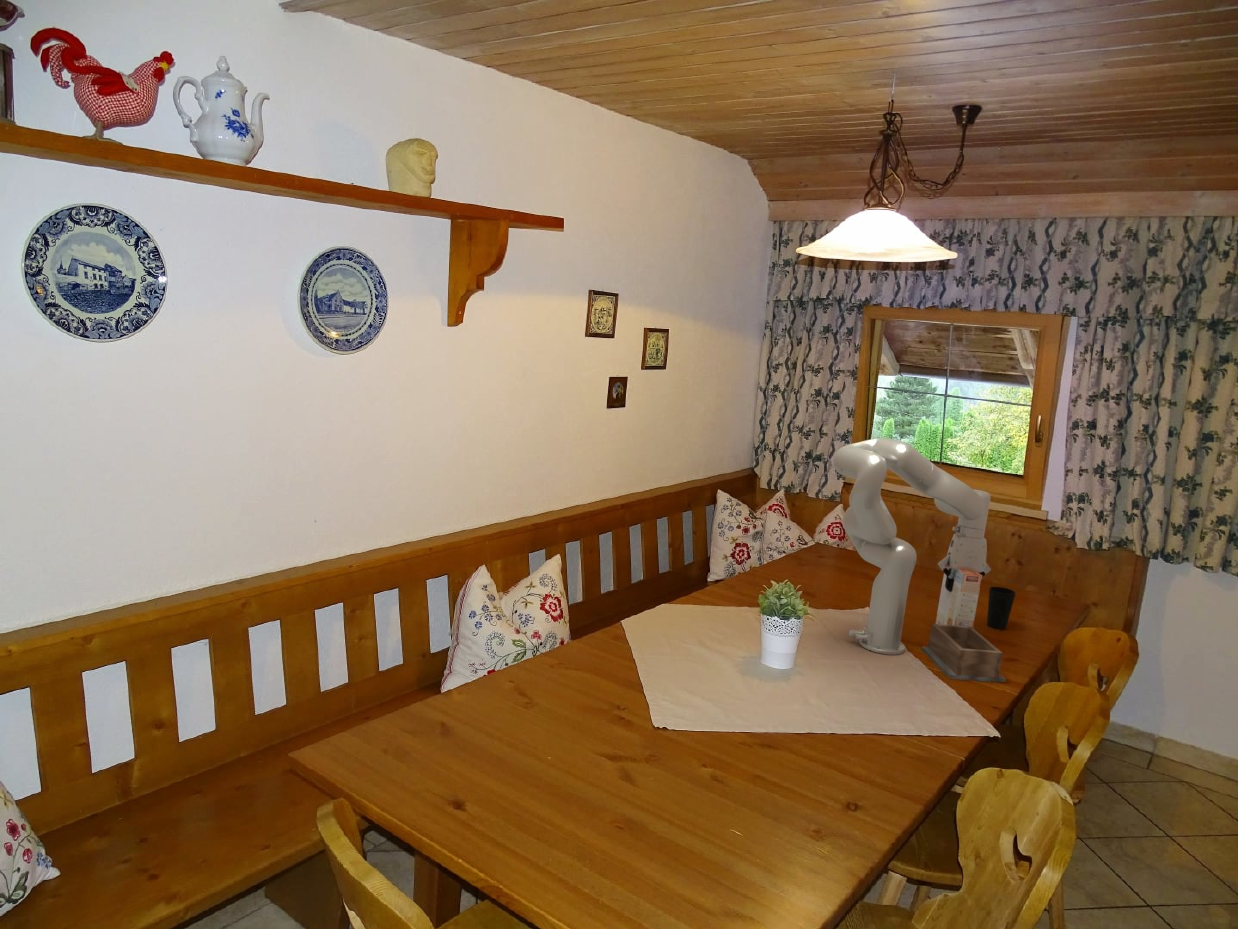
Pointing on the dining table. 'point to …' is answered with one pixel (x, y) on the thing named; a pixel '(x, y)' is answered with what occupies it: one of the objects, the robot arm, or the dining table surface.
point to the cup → (999, 607)
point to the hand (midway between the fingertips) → (960, 591)
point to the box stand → (964, 653)
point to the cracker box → (959, 599)
